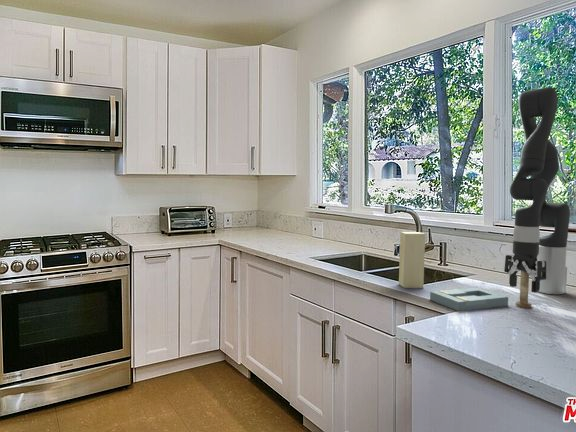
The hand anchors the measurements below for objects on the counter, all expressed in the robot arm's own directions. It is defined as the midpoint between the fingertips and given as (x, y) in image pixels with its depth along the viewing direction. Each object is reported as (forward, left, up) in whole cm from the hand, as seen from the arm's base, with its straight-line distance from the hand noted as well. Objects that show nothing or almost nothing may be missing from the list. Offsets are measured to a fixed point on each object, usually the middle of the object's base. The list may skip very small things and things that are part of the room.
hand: (523, 289), depth 143 cm
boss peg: (0, 0, -6) cm, 6 cm away
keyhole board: (+14, -9, -6) cm, 18 cm away
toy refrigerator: (+18, -36, -6) cm, 41 cm away
